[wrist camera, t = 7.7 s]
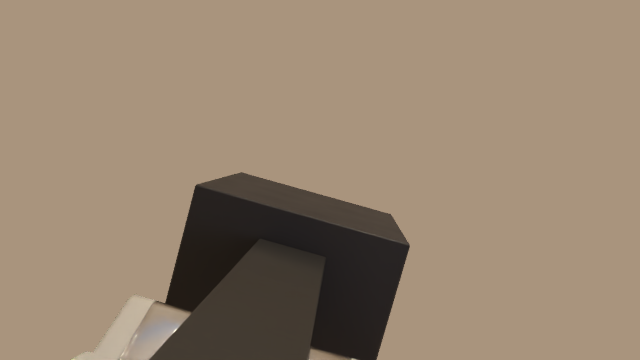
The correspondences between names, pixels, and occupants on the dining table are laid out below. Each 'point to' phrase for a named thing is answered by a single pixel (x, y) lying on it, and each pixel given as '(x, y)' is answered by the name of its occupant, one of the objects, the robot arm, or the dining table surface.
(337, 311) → the block with square stub
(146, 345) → the robot arm
